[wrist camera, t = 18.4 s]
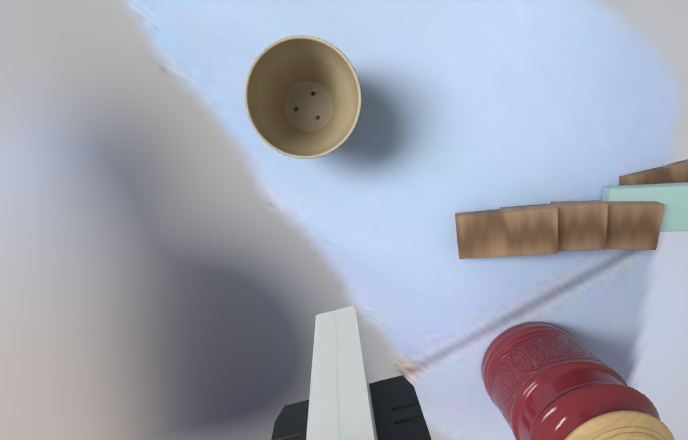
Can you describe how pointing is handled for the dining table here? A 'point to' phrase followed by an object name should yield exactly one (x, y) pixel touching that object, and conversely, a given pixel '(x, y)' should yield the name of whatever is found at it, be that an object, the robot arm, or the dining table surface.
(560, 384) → the canister
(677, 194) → the domino
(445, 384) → the dining table surface
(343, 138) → the flower pot
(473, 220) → the domino
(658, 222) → the domino
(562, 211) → the domino
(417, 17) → the dining table surface
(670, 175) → the domino
